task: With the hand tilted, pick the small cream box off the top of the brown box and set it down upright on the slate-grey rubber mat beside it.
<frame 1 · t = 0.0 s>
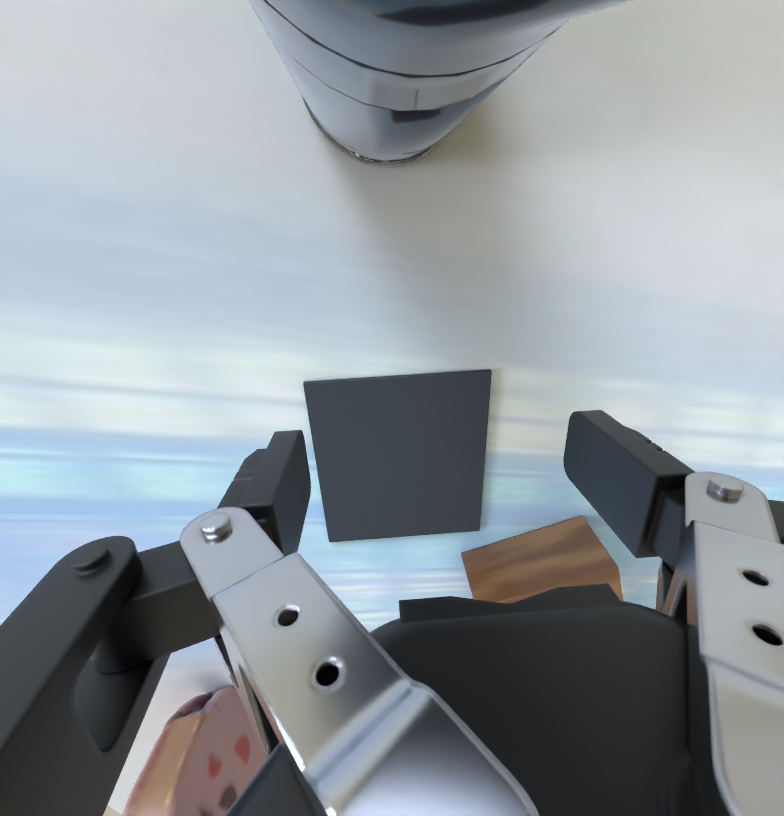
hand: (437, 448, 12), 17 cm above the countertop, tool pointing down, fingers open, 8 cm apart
rubber mat: (401, 463, 33), on the countertop
face sculpture: (236, 711, 49), on the countertop
brown box: (532, 573, 40), on the countertop
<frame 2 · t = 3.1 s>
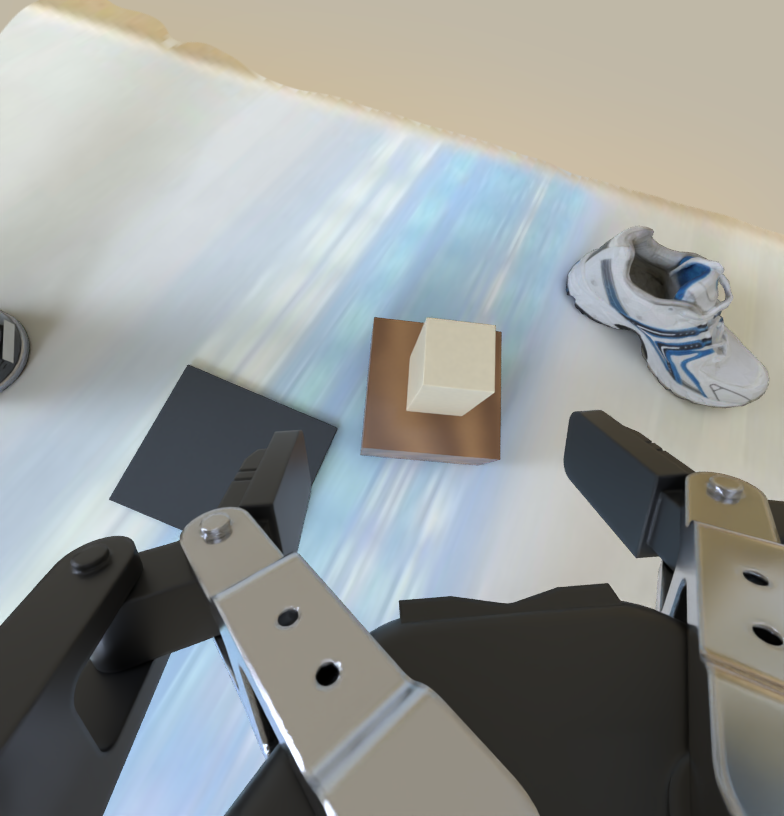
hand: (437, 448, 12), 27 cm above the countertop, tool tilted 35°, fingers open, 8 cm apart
rubber mat: (229, 462, 37), on the countertop
cream box: (435, 386, 35), point 6 cm above the countertop, touching brown box
athletic shoe: (644, 335, 45), on the countertop
brown box: (423, 402, 40), on the countertop
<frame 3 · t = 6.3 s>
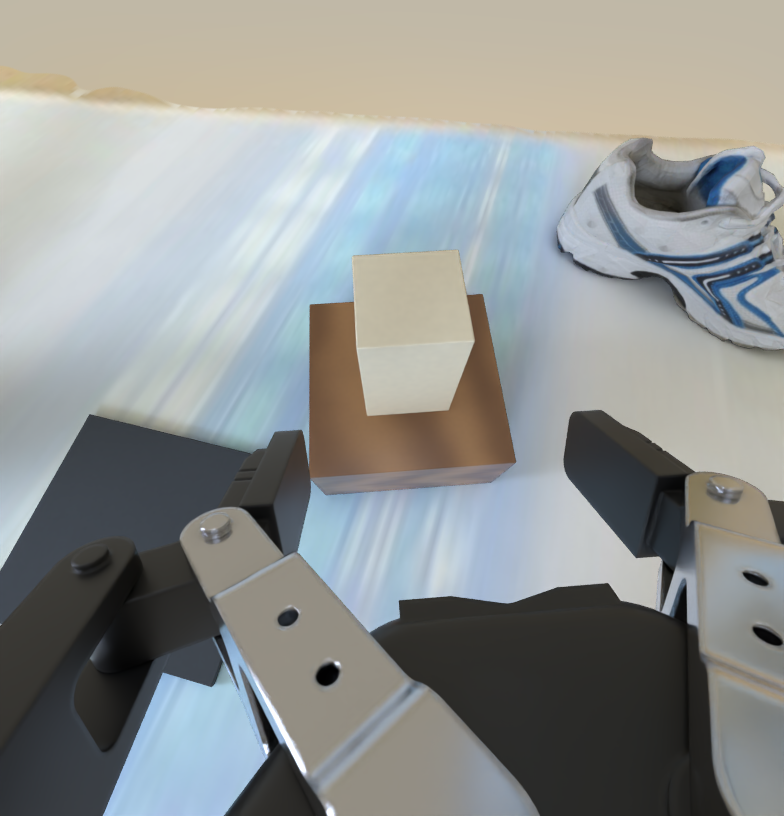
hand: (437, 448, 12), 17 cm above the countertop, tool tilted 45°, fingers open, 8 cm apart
rubber mat: (146, 534, 27), on the countertop
cream box: (404, 376, 25), point 6 cm above the countertop, touching brown box
athletic shoe: (673, 282, 35), on the countertop
brown box: (401, 411, 30), on the countertop
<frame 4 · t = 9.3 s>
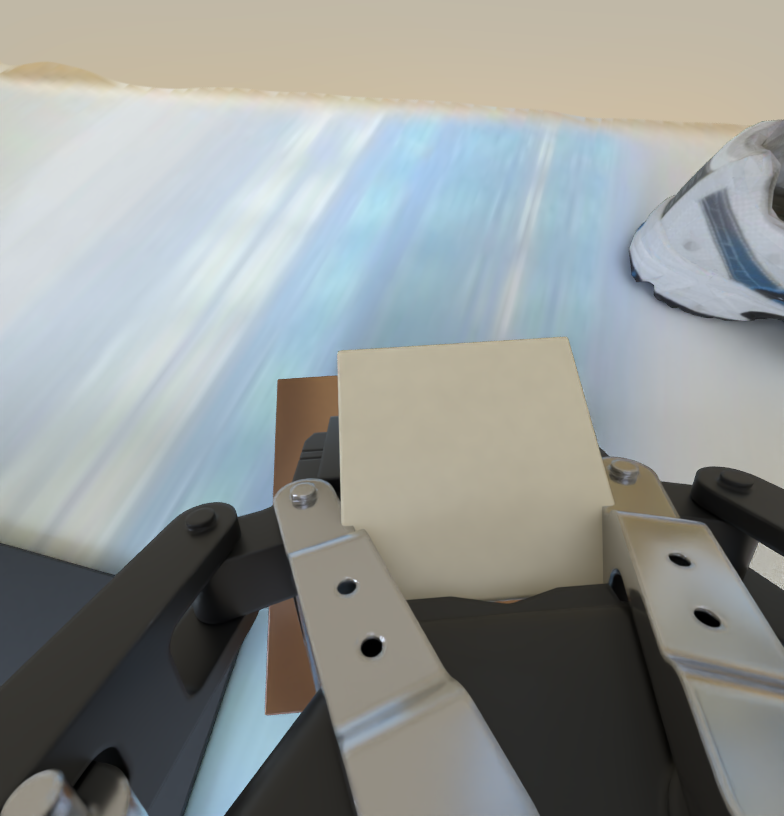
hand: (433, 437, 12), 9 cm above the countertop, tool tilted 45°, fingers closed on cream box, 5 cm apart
rubber mat: (19, 740, 17), on the countertop
cream box: (430, 509, 15), point 6 cm above the countertop, touching gripper, brown box
brown box: (419, 524, 20), on the countertop
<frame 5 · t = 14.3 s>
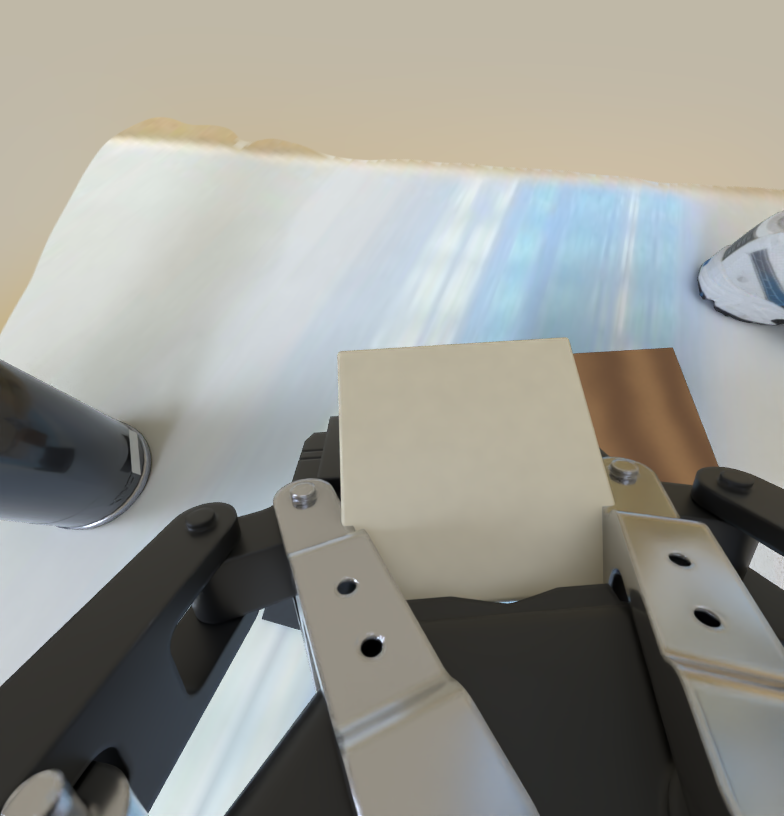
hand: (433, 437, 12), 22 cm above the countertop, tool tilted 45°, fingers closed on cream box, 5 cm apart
rubber mat: (387, 550, 31), on the countertop
cream box: (430, 510, 15), point 18 cm above the countertop, touching gripper
brown box: (585, 443, 35), on the countertop
when the fingers open (4 cm above the countertop, at t = 19.6 s): cream box stays where it is, resting on rubber mat.
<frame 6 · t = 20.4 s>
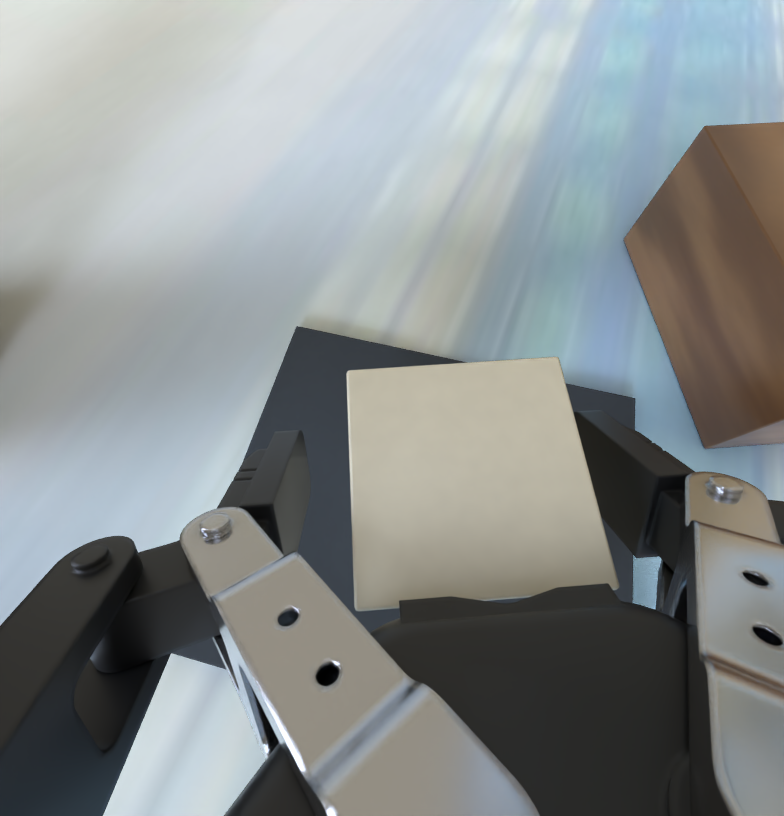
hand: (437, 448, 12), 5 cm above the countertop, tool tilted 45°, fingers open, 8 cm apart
rubber mat: (428, 511, 16), on the countertop
cream box: (432, 513, 16), resting on rubber mat
brown box: (776, 324, 19), on the countertop
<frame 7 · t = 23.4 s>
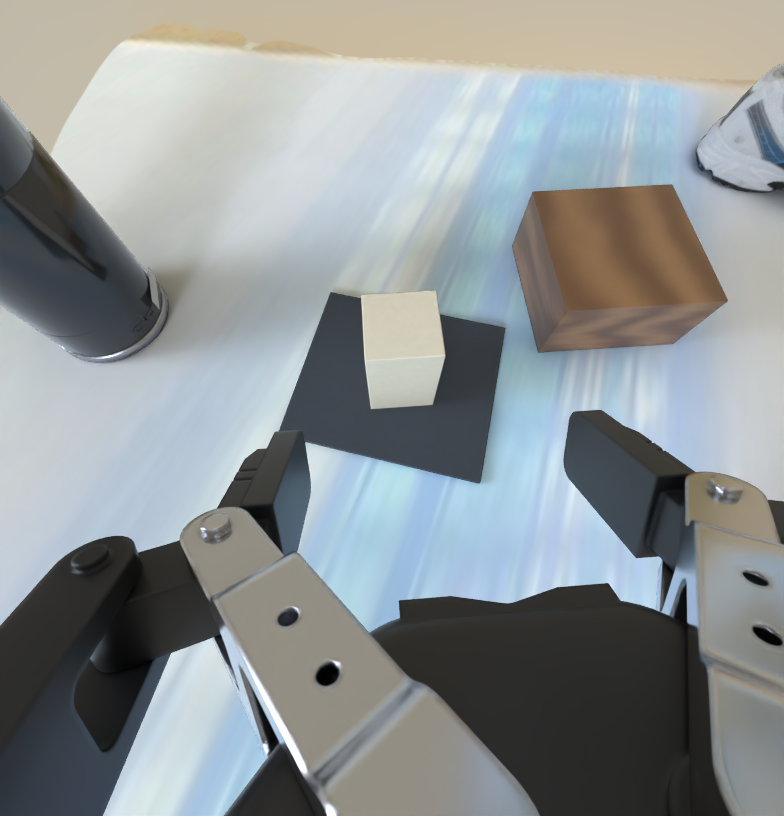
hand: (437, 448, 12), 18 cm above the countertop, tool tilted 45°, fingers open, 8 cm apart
rubber mat: (397, 379, 33), on the countertop
cream box: (399, 379, 32), resting on rubber mat
brown box: (587, 292, 36), on the countertop
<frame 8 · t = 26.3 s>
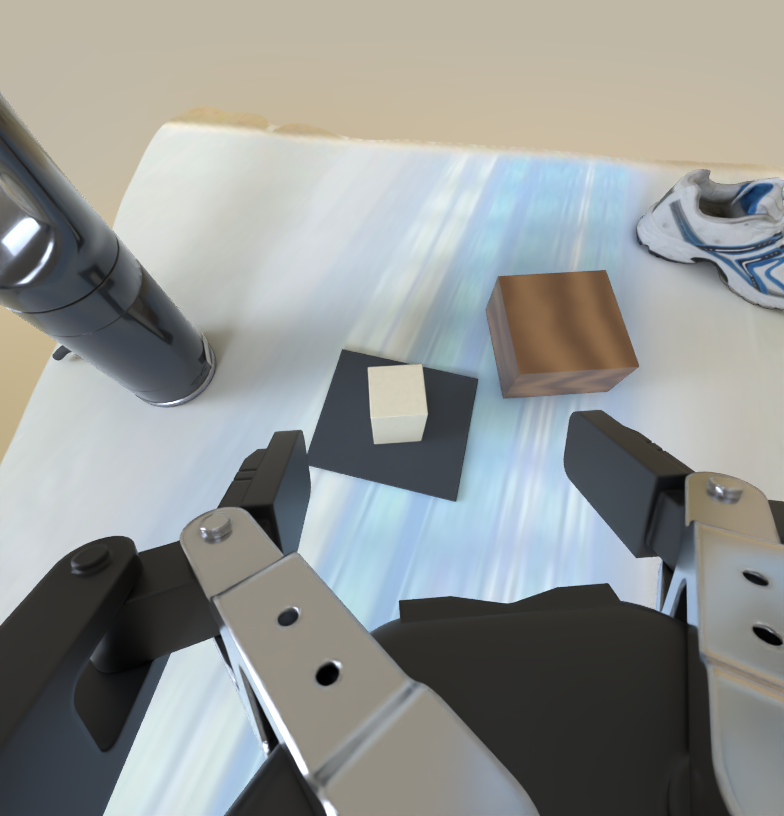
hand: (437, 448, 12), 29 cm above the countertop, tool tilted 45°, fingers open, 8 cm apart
rubber mat: (394, 420, 42), on the countertop
cream box: (395, 420, 42), resting on rubber mat
athletic shoe: (718, 266, 51), on the countertop
brown box: (544, 348, 46), on the countertop
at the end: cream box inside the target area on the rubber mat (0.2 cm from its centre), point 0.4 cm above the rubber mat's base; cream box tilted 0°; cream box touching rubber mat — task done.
